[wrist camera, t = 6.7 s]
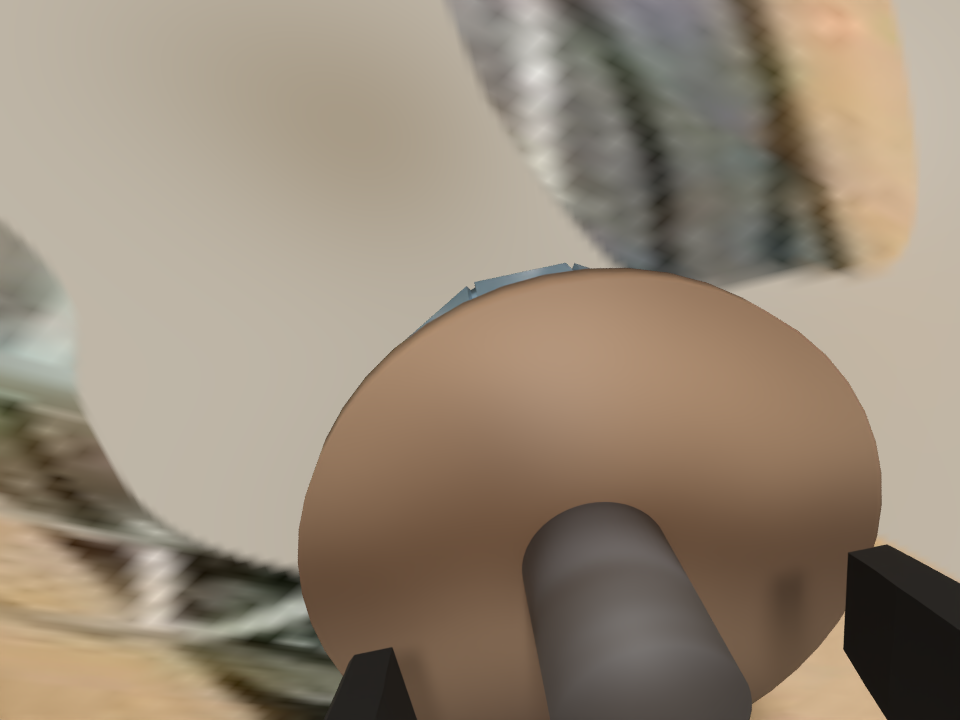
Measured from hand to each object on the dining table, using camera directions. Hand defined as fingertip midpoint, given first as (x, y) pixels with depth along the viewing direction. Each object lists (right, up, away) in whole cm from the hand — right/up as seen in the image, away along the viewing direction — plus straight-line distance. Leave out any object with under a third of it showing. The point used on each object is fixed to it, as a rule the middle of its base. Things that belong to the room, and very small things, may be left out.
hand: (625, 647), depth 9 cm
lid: (0, +1, +3) cm, 3 cm away
